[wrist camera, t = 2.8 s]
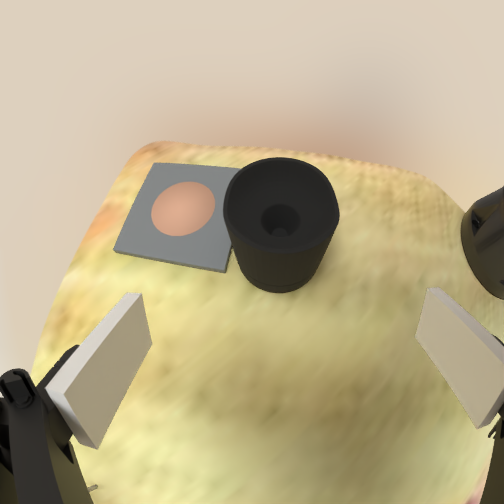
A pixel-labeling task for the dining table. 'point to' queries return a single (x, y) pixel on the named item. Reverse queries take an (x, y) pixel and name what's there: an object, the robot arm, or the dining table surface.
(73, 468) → the robot arm
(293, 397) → the dining table surface
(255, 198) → the pen holder
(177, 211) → the coaster mat
